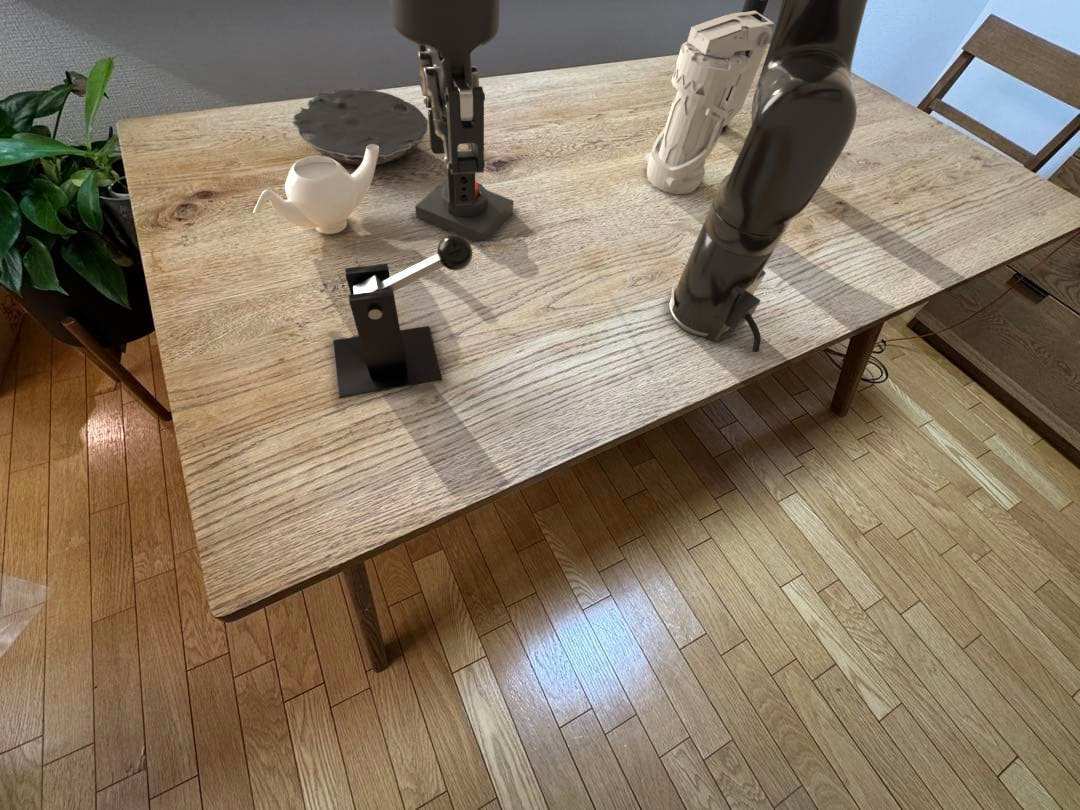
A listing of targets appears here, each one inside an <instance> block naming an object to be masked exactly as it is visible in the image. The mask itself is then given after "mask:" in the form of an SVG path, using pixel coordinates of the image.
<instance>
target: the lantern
mask: <svg viewBox="0 0 1080 810" xmlns="http://www.w3.org/2000/svg"><path fill="white" fill-rule="evenodd" d="M752 14H758V15H759V13H758V12H756V11H750V12H742V11H741V12H735V13H729V14H725V15H722V16H719V17H716V18H714V19H710V20H707V21H704V22H701V23H699V24H696V25H693V26H691V27H690V30H689V33H688V37H687V40H686V41H685V42H684V43H682V44H681V46H680V50H679V53H678V57H677V60H676V64H675V67H674V70H673V74H672V77H671V84H672V86H673V88H674V89H675V93H674V96H673V100H672V103H671V107H670V109H669V110H670V111H669V113H668V117H667V119H666V124H665V126H664V128H663V130H662V131H660V133H659V134H658V136H657V137H656V139H655V141H654V143H653V145H652V148H651V150H650V151H648V152H646V153H645V155H644V156H643V160H644V161H645V162H646V163H647V167H646V176H647V179H648V181H649V182H650V184H652V185H653V186H654V187H655V188H657V189H659V190H661V191H663V192H665V193H669V194H674V195H686V194H687V195H688V194H690V193H692V192H694V191H696V189H697V188H699V187H698V186H700V184H701V182H702V180H703V178H704V177H705V173H706V170H705V165H706V160H707V158H708V157H709V155H710V154H711V153H712V151H713V150H714V148H715V147H716V145H717V143H718V141H719V139H720V136H721V134H722V132H721V131H722V128H723V127H724V126H726V125H727V126H728V124H729V123H730V122H731V121H732V120H733V119H734V118H735V117H736V115H737V114H738V113H740V111H741V110H742V109H743V107H744V104H745V102H746V100H747V96H748V94H749V92H750V90H751V88H752V85H753V82H754V79H755V77H756V75H757V72H758V69H759V68H760V65H761V63H762V60H763V57H764V55H765V53H766V50H767V48H768V45H769V44H770V42H771V39H772V36H773V33H774V30H773V28H772V27H770V26H771V25H772V26H773V25H775V22H774V21H772V20H770V19H769V18H767V16H764V15H763V16H762V15H761V14H760V16H761V17H762V19H764V20H766V21H759V20H758V19H756V18H755V17H753V16H751V15H752ZM747 50H750V52H749V55H748V57H746V56H745V51H747ZM733 85H734V86H733ZM732 86H733V89H732V91H731V94H730V96H729V99H728V102H727V101H726V98H727V97H728V94H729V92H730V89H731V87H732Z"/></svg>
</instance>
